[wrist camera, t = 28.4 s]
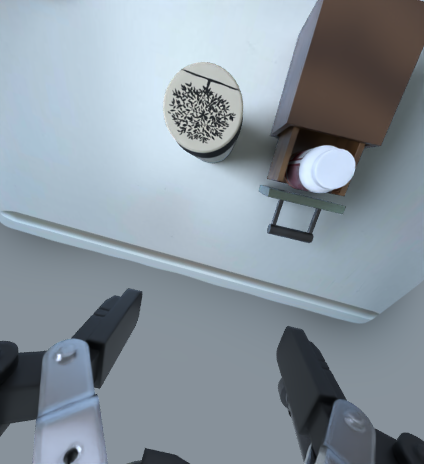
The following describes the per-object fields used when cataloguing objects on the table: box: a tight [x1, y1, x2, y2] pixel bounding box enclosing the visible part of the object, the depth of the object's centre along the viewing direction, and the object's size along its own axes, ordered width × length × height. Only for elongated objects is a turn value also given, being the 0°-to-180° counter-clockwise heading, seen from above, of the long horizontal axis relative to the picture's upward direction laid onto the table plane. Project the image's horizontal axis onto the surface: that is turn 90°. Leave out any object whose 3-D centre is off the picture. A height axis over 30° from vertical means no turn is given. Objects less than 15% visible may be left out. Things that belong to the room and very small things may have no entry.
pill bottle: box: [284, 145, 356, 193], centre depth 30 cm, size 6×6×11 cm
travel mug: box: [163, 62, 243, 163], centre depth 28 cm, size 8×8×18 cm
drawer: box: [259, 126, 365, 243], centre depth 33 cm, size 19×11×8 cm, turn 167°
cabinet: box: [271, 0, 424, 148], centre depth 29 cm, size 15×13×10 cm
